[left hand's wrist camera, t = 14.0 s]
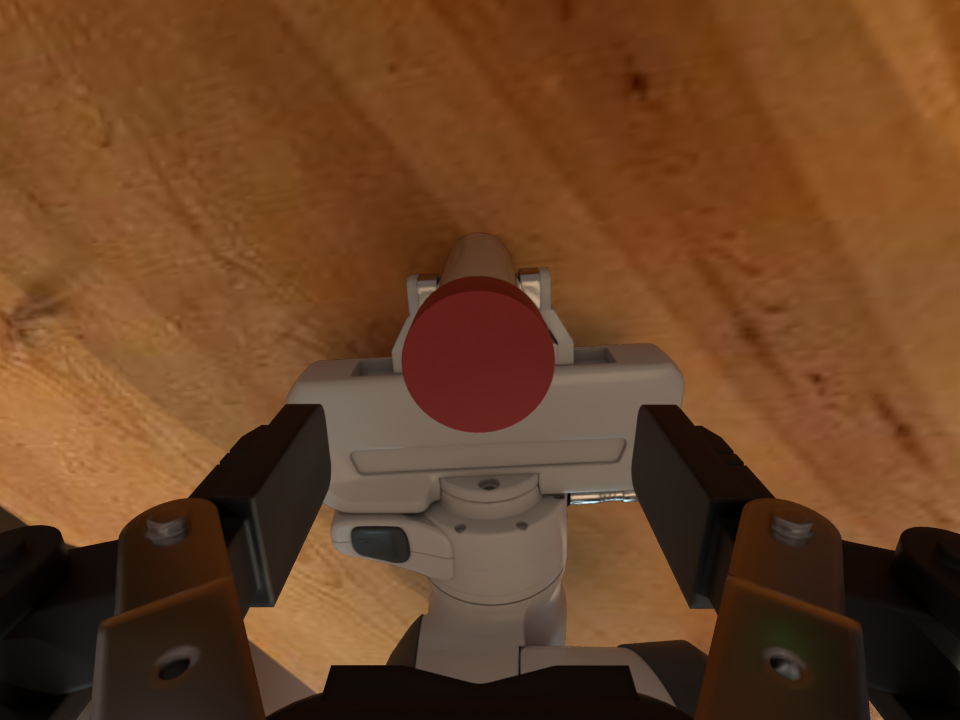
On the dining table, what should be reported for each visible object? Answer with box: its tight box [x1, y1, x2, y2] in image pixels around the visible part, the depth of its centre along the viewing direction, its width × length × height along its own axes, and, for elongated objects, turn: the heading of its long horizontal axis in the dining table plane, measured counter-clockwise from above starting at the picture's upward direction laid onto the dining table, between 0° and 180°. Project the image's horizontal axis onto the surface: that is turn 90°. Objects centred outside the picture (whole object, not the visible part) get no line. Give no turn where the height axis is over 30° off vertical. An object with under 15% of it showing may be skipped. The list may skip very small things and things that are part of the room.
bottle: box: [436, 233, 523, 291], centre depth 23 cm, size 4×4×16 cm
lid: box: [401, 276, 555, 433], centre depth 17 cm, size 5×5×2 cm
